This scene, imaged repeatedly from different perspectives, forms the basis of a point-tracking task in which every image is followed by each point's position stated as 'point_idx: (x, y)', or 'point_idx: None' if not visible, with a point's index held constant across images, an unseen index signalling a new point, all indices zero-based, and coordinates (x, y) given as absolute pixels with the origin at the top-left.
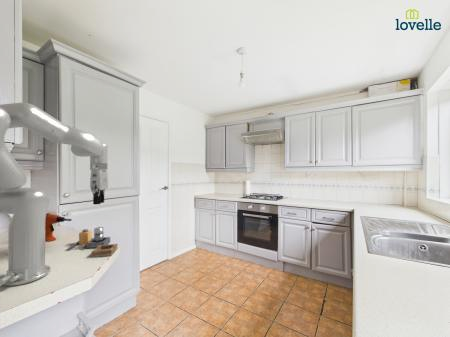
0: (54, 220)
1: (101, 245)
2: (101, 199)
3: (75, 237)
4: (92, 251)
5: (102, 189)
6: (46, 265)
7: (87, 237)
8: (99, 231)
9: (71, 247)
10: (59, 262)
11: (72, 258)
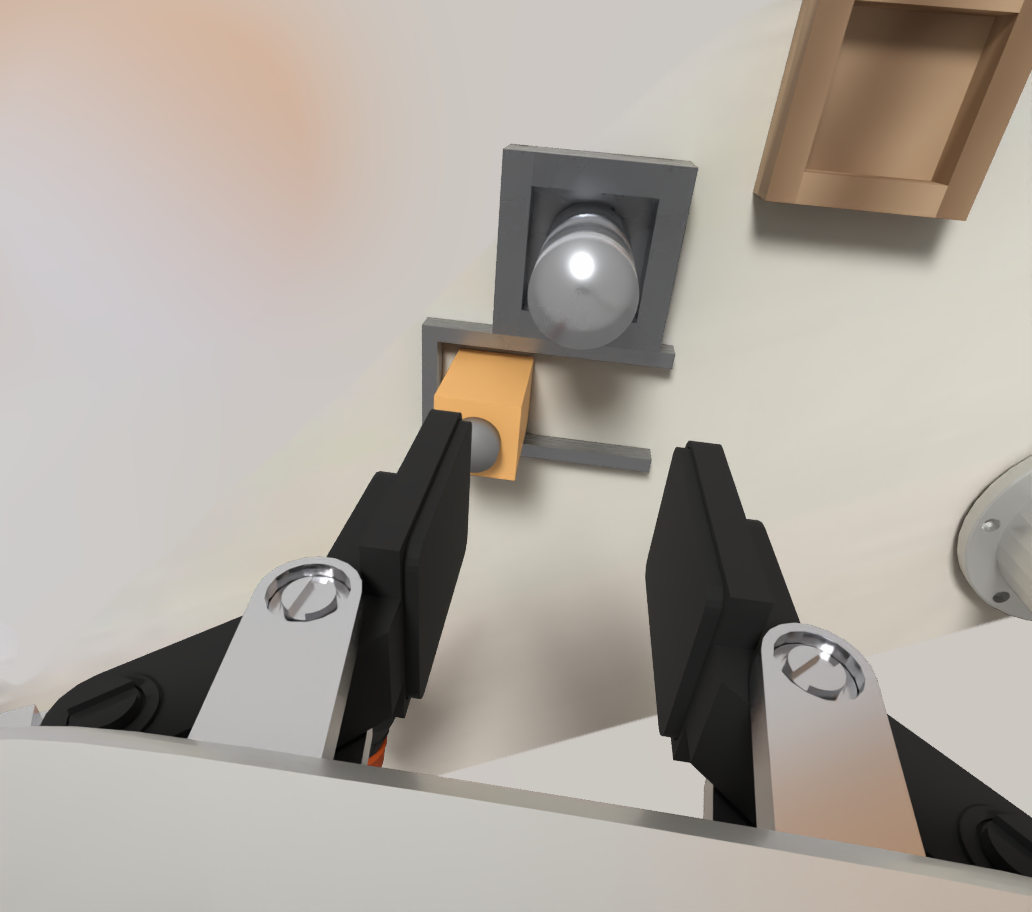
0: (384, 748)
1: (793, 170)
2: (453, 513)
3: (314, 506)
4: (963, 213)
5: (958, 870)
6: (1016, 483)
7: (527, 386)
8: (633, 266)
9: (623, 452)
10: (911, 432)
11: (870, 369)
